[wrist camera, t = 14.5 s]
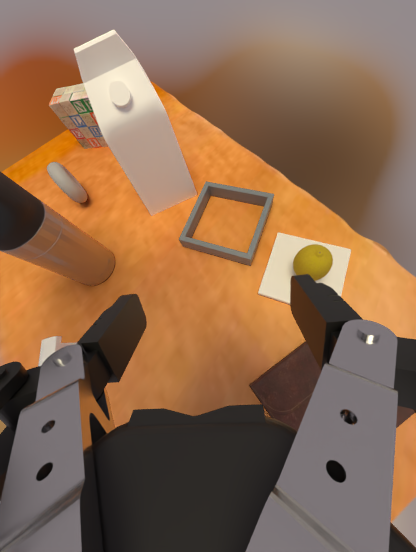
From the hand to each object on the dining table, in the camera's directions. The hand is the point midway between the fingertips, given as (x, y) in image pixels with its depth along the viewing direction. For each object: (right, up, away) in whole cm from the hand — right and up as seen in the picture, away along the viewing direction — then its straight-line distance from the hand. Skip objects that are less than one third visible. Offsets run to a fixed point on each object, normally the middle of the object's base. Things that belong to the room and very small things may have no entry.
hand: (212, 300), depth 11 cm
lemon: (+17, +2, +26) cm, 31 cm away
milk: (-10, +23, +40) cm, 47 cm away
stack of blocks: (-27, +42, +50) cm, 70 cm away
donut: (-33, +22, +44) cm, 59 cm away
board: (+17, +2, +27) cm, 32 cm away
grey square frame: (+4, +12, +33) cm, 36 cm away
